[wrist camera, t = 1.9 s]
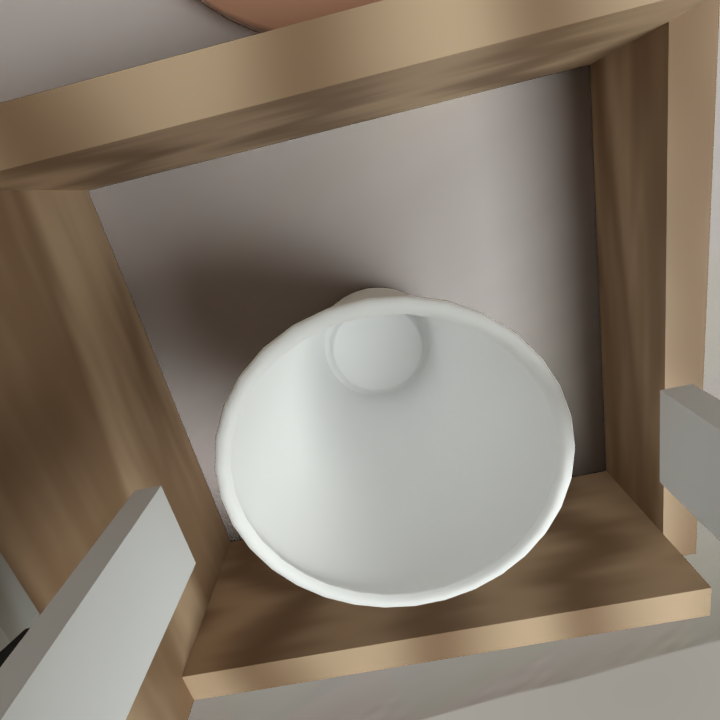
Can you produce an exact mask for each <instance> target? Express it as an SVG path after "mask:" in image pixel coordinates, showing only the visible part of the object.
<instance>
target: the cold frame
mask: <svg viewBox="0 0 720 720" xmlns="http://www.w3.org/2000/svg"><path fill="white" fill-rule="evenodd" d="M719 7H720V0H382V1H379V2H375V3H371V4H367V5H364V6H360V7H356V8H352V9H349V10H345V11H341V12H338V13H334V14H330V15H326V16H323V17H319V18H315V19H311V20H308V21H304V22H300V23H297V24H293V25H289V26H285V27H282V28H278V29H274V30H271V31H267V32H263V33H259V34H256V35H252V36H248V37H244V38H241V39H237V40H233V41H230V42H226V43H222V44H218V45H215V46H211V47H207V48H203V49H200V50H196V51H192V52H189V53H185V54H181V55H177V56H174V57H170V58H166V59H163V60H159V61H155V62H151V63H148V64H144V65H140V66H136V67H133V68H129V69H125V70H122V71H118V72H114V73H110V74H107V75H103V76H99V77H95V78H92V79H88V80H84V81H81V82H77V83H73V84H69V85H66V86H62V87H58V88H54V89H51V90H47V91H43V92H40V93H36V94H32V95H28V96H25V97H21V98H17V99H14V100H10V101H6V102H2V103H0V651H1V650H3V649H4V648H5V647H6V646H7V645H8V644H9V643H10V642H11V641H12V640H14V639H15V638H16V637H17V636H18V635H19V634H20V633H21V632H22V631H23V630H25V629H27V628H31V626H32V625H33V624H34V622H35V621H36V620H37V618H38V617H39V616H40V615H41V613H42V612H43V611H44V609H45V608H46V607H47V605H48V604H49V603H50V601H51V600H52V599H53V597H54V596H55V595H56V594H57V592H58V591H59V590H60V588H61V587H62V586H63V584H64V583H65V582H66V580H67V579H68V578H69V576H70V575H71V574H72V573H73V571H74V570H75V569H76V567H77V566H78V565H79V563H80V562H81V561H82V559H83V558H84V557H85V555H86V554H87V553H88V551H89V550H90V549H91V548H92V546H93V545H94V544H95V542H96V541H97V540H98V538H99V537H100V536H101V534H102V533H103V532H104V530H105V529H106V528H107V527H108V525H109V524H110V523H111V521H112V520H113V519H114V517H115V516H116V515H117V513H118V512H119V511H120V509H121V508H122V507H123V506H124V504H125V503H126V502H127V500H128V499H129V498H130V496H131V495H132V494H133V492H134V491H136V490H141V489H147V488H152V487H157V486H161V487H162V489H163V491H164V493H165V496H166V498H167V500H168V502H169V504H170V507H171V509H172V511H173V513H174V516H175V518H176V520H177V522H178V524H179V527H180V529H181V531H182V533H183V536H184V538H185V540H186V542H187V544H188V547H189V549H190V551H191V553H192V556H193V558H194V560H195V562H196V564H195V566H194V569H193V571H192V573H191V575H190V578H189V580H188V582H187V584H186V586H185V589H184V591H183V593H182V595H181V598H180V600H179V602H178V604H177V607H176V609H175V611H174V613H173V615H172V618H171V620H170V622H169V624H168V627H167V629H166V631H165V633H164V635H163V638H162V640H161V642H160V644H159V647H158V649H157V651H156V653H155V656H154V658H153V660H152V662H151V664H150V667H149V669H148V671H147V673H146V676H145V678H144V680H143V682H142V684H141V687H140V689H139V691H138V693H137V696H136V698H135V700H134V702H133V705H132V707H131V709H130V711H129V713H128V716H127V718H126V720H188V718H189V715H190V712H191V708H192V705H193V702H194V700H199V699H205V698H211V697H217V696H223V695H229V694H235V693H241V692H247V691H253V690H259V689H266V688H272V687H278V686H284V685H290V684H296V683H302V682H308V681H314V680H320V679H326V678H332V677H338V676H345V675H351V674H357V673H363V672H369V671H375V670H381V669H387V668H393V667H399V666H405V665H411V664H417V663H423V662H430V661H436V660H442V659H448V658H454V657H460V656H466V655H472V654H478V653H484V652H490V651H496V650H502V649H509V648H515V647H521V646H527V645H533V644H539V643H545V642H551V641H557V640H563V639H569V638H575V637H581V636H587V635H594V634H600V633H606V632H612V631H618V630H624V629H630V628H636V627H642V626H648V625H654V624H660V623H666V622H673V621H679V620H685V619H691V618H697V617H703V616H709V615H710V605H711V589H712V588H711V587H710V586H709V584H708V583H707V582H706V581H705V580H704V579H703V578H702V577H701V576H700V574H699V573H698V572H697V571H696V570H695V569H694V568H693V567H692V566H691V564H690V563H689V562H688V561H687V560H686V559H685V558H684V557H683V556H684V555H690V554H695V553H696V539H697V518H696V517H695V516H694V515H693V514H692V513H691V512H690V511H689V510H688V509H687V508H686V507H685V506H683V505H682V504H681V503H680V502H679V501H678V500H677V499H676V498H675V497H674V496H673V495H672V494H671V493H670V492H669V491H668V490H667V489H666V488H665V487H664V486H663V485H662V484H661V483H660V390H663V389H669V388H674V387H679V386H684V385H689V384H693V385H695V386H697V387H698V388H700V389H702V390H703V377H704V354H705V331H706V308H707V285H708V262H709V238H710V215H711V192H712V169H713V146H714V123H715V100H716V77H717V53H718V30H719ZM587 65H590V80H591V104H592V129H593V153H594V178H595V202H596V227H597V251H598V276H599V300H600V325H601V349H602V373H603V398H604V422H605V447H606V471H603V472H597V473H592V474H587V475H582V476H576V477H572V478H571V481H570V484H569V487H568V490H567V493H566V496H565V498H564V501H563V504H562V507H561V509H560V510H559V512H558V514H557V515H556V517H555V519H554V520H553V522H552V524H551V525H550V527H549V529H548V530H547V532H546V533H545V535H544V536H543V537H542V538H541V539H540V540H539V541H538V542H537V543H536V545H535V546H534V547H533V548H532V549H531V550H530V551H529V552H528V553H527V555H526V556H525V557H523V558H522V559H521V560H519V561H518V562H517V563H516V564H514V565H513V566H512V567H510V568H509V569H508V570H507V571H505V572H504V573H503V574H502V575H500V576H498V577H496V578H494V579H493V580H491V581H489V582H487V583H485V584H483V585H482V586H480V587H478V588H476V589H474V590H471V591H469V592H466V593H463V594H460V595H458V596H455V597H452V598H449V599H447V600H442V601H437V602H433V603H428V604H423V605H418V606H405V607H386V608H384V607H374V606H363V605H354V604H350V603H346V602H342V601H338V600H334V599H330V598H326V597H323V596H321V595H318V594H316V593H314V592H311V591H309V590H307V589H304V588H302V587H300V586H297V585H296V584H294V583H292V582H291V581H289V580H288V579H286V578H285V577H283V576H282V575H280V574H278V573H277V572H275V571H274V570H272V569H271V568H270V567H269V566H268V565H267V564H266V563H265V562H264V561H262V560H261V559H260V558H259V557H258V556H257V555H256V554H255V553H254V552H253V551H252V550H251V549H250V548H249V547H248V545H247V544H246V543H245V541H244V540H237V541H232V542H231V541H230V539H229V537H228V534H227V532H226V529H225V527H224V524H223V522H222V519H221V517H220V514H219V512H218V510H217V507H216V505H215V502H214V500H213V497H212V495H211V492H210V490H209V487H208V485H207V483H206V480H205V478H204V475H203V473H202V470H201V468H200V465H199V463H198V460H197V458H196V455H195V453H194V451H193V448H192V446H191V443H190V441H189V438H188V436H187V433H186V431H185V428H184V426H183V424H182V421H181V419H180V416H179V414H178V411H177V409H176V406H175V404H174V401H173V399H172V396H171V394H170V392H169V389H168V387H167V384H166V382H165V379H164V377H163V374H162V372H161V369H160V367H159V365H158V362H157V360H156V357H155V355H154V352H153V350H152V347H151V345H150V342H149V340H148V338H147V335H146V333H145V330H144V328H143V325H142V323H141V320H140V318H139V315H138V313H137V310H136V308H135V306H134V303H133V301H132V298H131V296H130V293H129V291H128V288H127V286H126V283H125V281H124V279H123V276H122V274H121V271H120V269H119V266H118V264H117V261H116V259H115V256H114V254H113V251H112V249H111V247H110V244H109V242H108V239H107V237H106V234H105V232H104V229H103V227H102V224H101V222H100V220H99V217H98V215H97V212H96V210H95V207H94V205H93V202H92V200H91V197H90V195H89V193H88V190H92V189H96V188H100V187H104V186H108V185H112V184H116V183H120V182H124V181H128V180H132V179H136V178H140V177H144V176H148V175H152V174H156V173H160V172H163V171H167V170H171V169H175V168H179V167H183V166H187V165H191V164H195V163H199V162H203V161H207V160H211V159H215V158H219V157H223V156H227V155H231V154H235V153H239V152H243V151H247V150H251V149H255V148H259V147H263V146H267V145H271V144H275V143H279V142H283V141H287V140H291V139H295V138H299V137H303V136H307V135H311V134H315V133H319V132H323V131H327V130H331V129H335V128H339V127H343V126H347V125H351V124H355V123H359V122H363V121H367V120H371V119H375V118H379V117H383V116H387V115H391V114H395V113H399V112H403V111H407V110H411V109H415V108H419V107H423V106H427V105H431V104H435V103H439V102H443V101H447V100H451V99H455V98H459V97H463V96H467V95H471V94H475V93H479V92H483V91H487V90H491V89H495V88H499V87H503V86H507V85H511V84H515V83H519V82H523V81H527V80H531V79H535V78H539V77H543V76H547V75H551V74H555V73H559V72H563V71H567V70H571V69H575V68H579V67H583V66H587Z"/></svg>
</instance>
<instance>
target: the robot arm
mask: <svg viewBox="0 0 720 720" xmlns="http://www.w3.org/2000/svg"><path fill="white" fill-rule="evenodd" d="M660 483H661V484H662V485H663V486H664V487H665V488H666V489H667V490H668V491H669V492H670V493H671V494H672V495H673V496H674V497H675V498H676V499H677V500H678V501H679V502H680V503H681V504H682V505H683V506H685V507H686V508H687V509H688V510H689V511H690V512H691V513H692V514H693V515H694V516H695V517H696V518H697V519H698V520H699V521H700V522H701V523H702V524H703V525H704V526H705V527H706V528H707V529H708V530H709V531H710V532H711V533H712V534H713V535H714V536H715V537H716V538H717V539H718V540H719V541H720V400H719V399H717V398H715V397H714V396H712V395H710V394H709V393H707V392H705V391H703V390H702V389H700V388H698V387H697V386H695V385H693V384H689V385H684V386H679V387H674V388H669V389H663V390H660ZM195 564H196V562H195V560H194V558H193V556H192V553H191V551H190V549H189V547H188V544H187V542H186V540H185V538H184V536H183V533H182V531H181V529H180V527H179V524H178V522H177V520H176V518H175V516H174V513H173V511H172V509H171V507H170V504H169V502H168V500H167V498H166V496H165V493H164V491H163V489H162V487H161V486H157V487H152V488H147V489H141V490H136V491H134V492H133V494H132V495H131V496H130V498H129V499H128V500H127V502H126V503H125V504H124V506H123V507H122V508H121V509H120V511H119V512H118V513H117V515H116V516H115V517H114V519H113V520H112V521H111V523H110V524H109V525H108V527H107V528H106V529H105V530H104V532H103V533H102V534H101V536H100V537H99V538H98V540H97V541H96V542H95V544H94V545H93V546H92V548H91V549H90V550H89V551H88V553H87V554H86V555H85V557H84V558H83V559H82V561H81V562H80V563H79V565H78V566H77V567H76V569H75V570H74V571H73V573H72V574H71V575H70V576H69V578H68V579H67V580H66V582H65V583H64V584H63V586H62V587H61V588H60V590H59V591H58V592H57V594H56V595H55V596H54V597H53V599H52V600H51V601H50V603H49V604H48V605H47V607H46V608H45V609H44V611H43V612H42V613H41V615H40V616H39V617H38V618H37V620H36V621H35V622H34V624H33V625H32V626H31V628H27V629H25V630H23V631H22V632H21V633H20V634H19V635H18V636H17V637H16V638H15V639H14V640H12V641H11V642H10V643H9V644H8V645H7V646H6V647H5V648H4V649H3V650H1V651H0V720H126V718H127V716H128V713H129V711H130V709H131V707H132V705H133V702H134V700H135V698H136V696H137V693H138V691H139V689H140V687H141V684H142V682H143V680H144V678H145V676H146V673H147V671H148V669H149V667H150V664H151V662H152V660H153V658H154V656H155V653H156V651H157V649H158V647H159V644H160V642H161V640H162V638H163V635H164V633H165V631H166V629H167V627H168V624H169V622H170V620H171V618H172V615H173V613H174V611H175V609H176V607H177V604H178V602H179V600H180V598H181V595H182V593H183V591H184V589H185V586H186V584H187V582H188V580H189V578H190V575H191V573H192V571H193V569H194V566H195Z"/></svg>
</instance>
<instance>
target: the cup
mask: <svg viewBox="0 0 720 720" xmlns="http://www.w3.org/2000/svg"><path fill="white" fill-rule="evenodd" d="M574 453H575V442H574V433H573V424H572V416H571V413H570V410H569V408H568V405H567V402H566V399H565V397H564V394H563V391H562V388H561V386H560V384H559V383H558V381H557V380H556V378H555V377H554V375H553V374H552V372H551V371H550V369H549V368H548V366H547V365H546V363H545V362H544V360H543V359H542V357H541V356H540V355H539V354H538V353H537V352H536V351H535V350H534V349H533V348H531V347H530V346H529V345H528V344H527V343H526V342H525V341H524V340H523V339H522V338H521V337H520V336H519V335H518V334H517V333H516V332H514V331H512V330H511V329H509V328H507V327H506V326H504V325H502V324H501V323H499V322H497V321H496V320H494V319H492V318H491V317H489V316H487V315H486V314H484V313H481V312H478V311H476V310H473V309H470V308H467V307H464V306H461V305H458V304H455V303H452V302H449V301H446V300H438V299H431V298H423V297H416V296H411V295H409V294H406V293H403V292H400V291H397V290H395V289H388V288H368V289H364V290H360V291H356V292H354V293H352V294H350V295H348V296H346V297H344V298H342V299H341V300H340V301H338V302H337V303H336V304H335V305H333V306H332V307H330V308H327V309H325V310H323V311H321V312H319V313H317V314H315V315H313V316H311V317H308V318H306V319H304V320H302V321H300V322H298V323H296V324H294V325H292V326H291V327H290V328H288V329H287V330H286V331H284V332H283V333H282V334H281V335H279V336H278V337H277V338H275V339H274V340H273V341H271V342H270V343H269V344H267V345H266V346H265V347H264V348H263V349H262V350H261V351H260V352H259V353H258V354H257V356H256V357H255V358H254V359H253V360H252V361H251V363H250V364H249V365H248V366H247V367H246V368H245V370H244V371H243V372H242V373H241V374H240V376H239V378H238V380H237V381H236V383H235V385H234V387H233V389H232V391H231V393H230V395H229V397H228V398H227V400H226V402H225V404H224V407H223V411H222V414H221V418H220V422H219V426H218V429H217V433H216V437H215V472H216V477H217V482H218V487H219V492H220V497H221V500H222V502H223V504H224V506H225V509H226V511H227V513H228V515H229V518H230V520H231V522H232V524H233V526H234V527H235V529H236V530H237V532H238V533H239V534H240V536H241V537H242V538H243V540H244V541H245V543H246V544H247V545H248V547H249V548H250V549H251V550H252V551H253V552H254V553H255V554H256V555H257V556H258V557H259V558H260V559H261V560H262V561H264V562H265V563H266V564H267V565H268V566H269V567H270V568H271V569H272V570H274V571H275V572H277V573H278V574H280V575H282V576H283V577H285V578H286V579H288V580H289V581H291V582H292V583H294V584H296V585H297V586H300V587H302V588H304V589H307V590H309V591H311V592H314V593H316V594H318V595H321V596H323V597H326V598H330V599H334V600H338V601H342V602H346V603H350V604H354V605H363V606H374V607H384V608H386V607H405V606H418V605H423V604H428V603H433V602H437V601H442V600H447V599H449V598H452V597H455V596H458V595H460V594H463V593H466V592H469V591H471V590H474V589H476V588H478V587H480V586H482V585H483V584H485V583H487V582H489V581H491V580H493V579H494V578H496V577H498V576H500V575H502V574H503V573H504V572H505V571H507V570H508V569H509V568H510V567H512V566H513V565H514V564H516V563H517V562H518V561H519V560H521V559H522V558H523V557H525V556H526V555H527V553H528V552H529V551H530V550H531V549H532V548H533V547H534V546H535V545H536V543H537V542H538V541H539V540H540V539H541V538H542V537H543V536H544V535H545V533H546V532H547V530H548V529H549V527H550V525H551V524H552V522H553V520H554V519H555V517H556V515H557V514H558V512H559V510H560V509H561V507H562V504H563V501H564V498H565V496H566V493H567V490H568V487H569V484H570V481H571V478H572V470H573V462H574Z"/></svg>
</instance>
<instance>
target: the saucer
mask: <svg viewBox="0 0 720 720" xmlns="http://www.w3.org/2000/svg"><path fill="white" fill-rule="evenodd" d="M200 1H202V2H203V3H204V4H205V5H207V6H209V7H210V8H212V9H213V10H215V11H217V12H218V13H220V14H221V15H223V16H225V17H226V18H228V19H229V20H231V21H234V22H236V23H238V24H240V25H243V26H245V27H247V28H249V29H252V30H254V31H257V32H260V33H263V32H267V31H271V30H274V29H278V28H282V27H285V26H289V25H293V24H297V23H300V22H304V21H308V20H311V19H315V18H319V17H323V16H326V15H330V14H334V13H338V12H341V11H345V10H349V9H352V8H356V7H360V6H364V5H367V4H371V3H375V2H379V1H382V0H200Z"/></svg>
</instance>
